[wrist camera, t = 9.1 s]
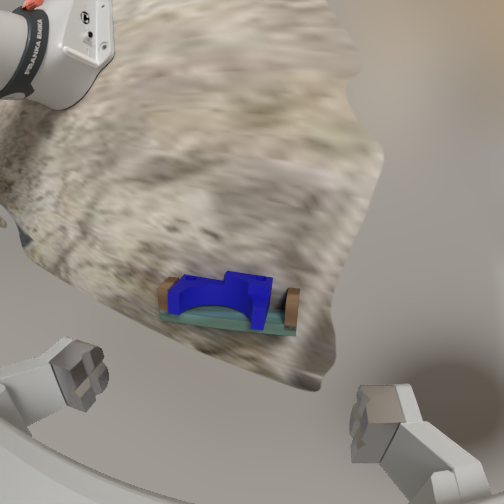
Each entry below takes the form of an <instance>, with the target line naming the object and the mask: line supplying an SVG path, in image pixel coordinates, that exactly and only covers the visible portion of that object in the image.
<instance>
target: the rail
mask: <svg viewBox="0 0 504 504" xmlns="http://www.w3.org/2000/svg"><path fill="white" fill-rule="evenodd" d="M178 281H179V278H175V277H168V278H167V279H166V280H165V281H164V282H163V283H162V284H161V285H160V286H159V287H158V288H157V293H158V302H159V311H160V319H161V320H164V321H170V322H177V323H184V324H190V325H198V326H205V327H212V328H220V329H228V330H237V331H246V332H255V333H265V334H275V335H286V336H296V326H297V316H298V305H299V293H300V289H296V288H288V293H287V299H286V310H281V309H269V310H268V314H267V318H266V322H265V325H264V329H263V331H261V330H255V329H251V322H250V320H249V318H248V317H247V316H246V315H245V314H243V313H242V312H240V311H238V310H236V309H234V308H231V307H227V306H222V305H200V306H195V307H192V308H189V309H187V310H185V311H183V312H182V313H181V314H180V315H175V314H170V313H168V291H169V290H170V289H171V288H172V287H173V286H174V285H175V284H176V283H177V282H178Z"/></svg>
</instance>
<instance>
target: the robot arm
mask: <svg viewBox="0 0 504 504" xmlns="http://www.w3.org/2000/svg"><path fill="white" fill-rule="evenodd" d="M106 46H107V47H106ZM105 47H106V49H105ZM113 56H114V38H113V21H112V0H27V1H26V5H24V6H20V7H18V8H17V9H15V10H14V11H13V12H12V13H11V12H7V11H3V10H0V100H20V99H28V100H32V101H36V102H39V103H41V104H43V105H45V106H47V107H49V108H51V109H54V110H62V109H65V108H68V107H70V106H72V105H73V104H75V103H76V102H77V101H79V100H80V99H81V98H82V97H83V96H84V94H85V93H86V92H87V91H88V89H89V88H90V86H91V85H92V83H93V82H94V80H95V78H96V76H97V74H98V73H99V72H100V70H101V69H102V68H103V67H105V66H106V65H107V64H108V63H109V62H110V61H111V59H112V58H113ZM103 359H104V355H103V351H102V349H101V348H100V347H98V346H95V345H92V344H89V343H85V342H83V341H79V340H75V339H73V338H70V337H63V338H61V339H60V340H59V341H58V342H57V343H55V344H54V345H53V346H52V347H51V348H49V349H48V350H47V351H46V352H45V353H43V354H42V355H41V356H40V357H39V358H35V357H34V358H31V359H28V360H24V361H21V362H17V363H14V364H10V365H6V366H3V367H0V504H193V503H189V502H185V501H182V500H178V499H174V498H170V497H167V496H164V495H161V494H157V493H154V492H151V491H148V490H145V489H142V488H139V487H136V486H134V485H131V484H128V483H125V482H123V481H120V480H117V479H115V478H112V477H110V476H108V475H105V474H103V473H101V472H98V471H96V470H94V469H92V468H89V467H87V466H85V465H83V464H81V463H79V462H76V461H75V460H73V459H70V458H68V457H67V456H65V455H63V454H61V453H59V452H57V451H55V450H53V449H51V448H50V447H48V446H46V445H44V444H43V443H41V442H39V441H37V440H35V439H34V438H32V435H31V433H30V431H29V430H28V428H27V426H29V425H31V424H33V423H35V422H37V421H39V420H41V419H43V418H45V417H47V416H49V415H51V414H53V413H55V412H57V411H59V410H61V409H63V408H65V407H67V405H68V406H70V407H73V408H75V409H78V410H81V411H83V412H87V411H88V410H89V408H90V407H91V406H92V405H93V403H94V402H95V401H96V396H95V395H97V394H100V393H102V392H103V391H104V390H105V388H106V387H107V384H108V381H109V372H108V369H107V367H106V365H105V364H104V363H103V362H102V361H103ZM349 428H350V435H351V436H352V437H353V441H352V444H351V458H352V463H380V466H381V467H382V468H383V469H384V471H385V472H386V473H387V474H388V476H389V477H390V478H391V479H392V480H393V482H394V483H395V484H396V486H397V487H398V488H399V489H400V490H401V491H402V493H403V494H404V495H405V497H406V498H407V499H408V500H409V501H410V503H409V504H504V491H503V492H500V493H498V494H494V495H492V494H491V491H490V488H489V485H488V482H487V479H486V476H485V473H484V470H483V467H482V465H481V462H479V461H478V460H477V459H475V458H474V457H473V456H472V455H470V454H469V453H468V452H466V451H465V450H464V449H462V448H461V447H460V446H459V445H457V444H456V443H454V442H453V441H452V440H451V439H449V438H448V437H447V436H445V435H444V434H443V433H442V432H440V431H439V430H438V429H437V428H435V427H434V426H433V425H431V424H430V423H429V422H423V420H422V417H421V414H420V411H419V408H418V405H417V402H416V399H415V396H414V393H413V390H412V388H411V386H410V385H409V384H394V385H360V387H359V388H358V392H357V403H356V404H354V405H353V408H352V412H351V417H350V427H349Z"/></svg>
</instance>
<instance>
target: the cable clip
mask: <svg viewBox="0 0 504 504" xmlns="http://www.w3.org/2000/svg"><path fill="white" fill-rule="evenodd" d="M272 281H273V278H272V277H265V276H258V275H251V274H245V273H238V272H231V271H227V272H226V274H225V281H221V280H215V279H209V278H203V277H197V276H191V275H185V274H184V275H183V276H182V277H181V278H180V280H179V281H178V282H177V283H176V284H175V285H174V286H173V287H172V288H171V289H170V290H169V291H168V313H170V314H175V315H180V314H181V313H182V312H183V311H185V310H187V309H189V308H192V307H195V306H200V305H222V306H227V307H231V308H234V309H236V310H238V311H240V312H242V313H243V314H245V315H246V316H247V317H248V318H249V320H250V322H251V329H255V330H261V331H263V329H264V325H265V322H266V318H267V314H268V310H269V304H270V297H271V289H272Z"/></svg>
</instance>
